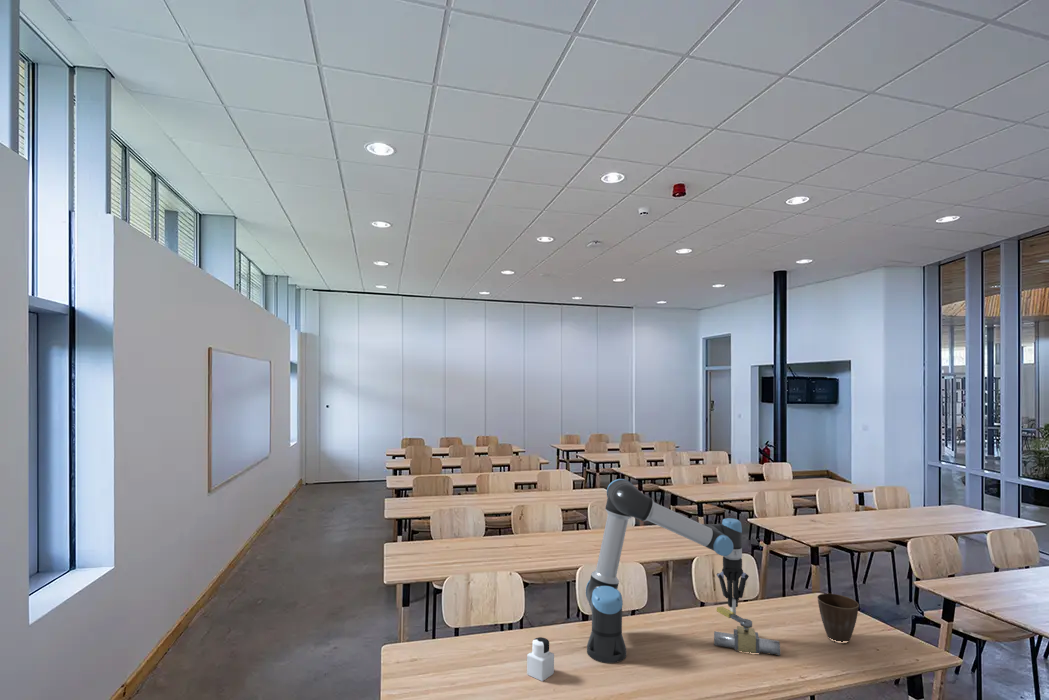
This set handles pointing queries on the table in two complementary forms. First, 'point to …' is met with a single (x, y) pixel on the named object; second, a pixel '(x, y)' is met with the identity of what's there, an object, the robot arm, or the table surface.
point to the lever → (735, 617)
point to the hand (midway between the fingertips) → (733, 614)
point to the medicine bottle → (540, 660)
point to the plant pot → (838, 615)
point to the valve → (746, 641)
